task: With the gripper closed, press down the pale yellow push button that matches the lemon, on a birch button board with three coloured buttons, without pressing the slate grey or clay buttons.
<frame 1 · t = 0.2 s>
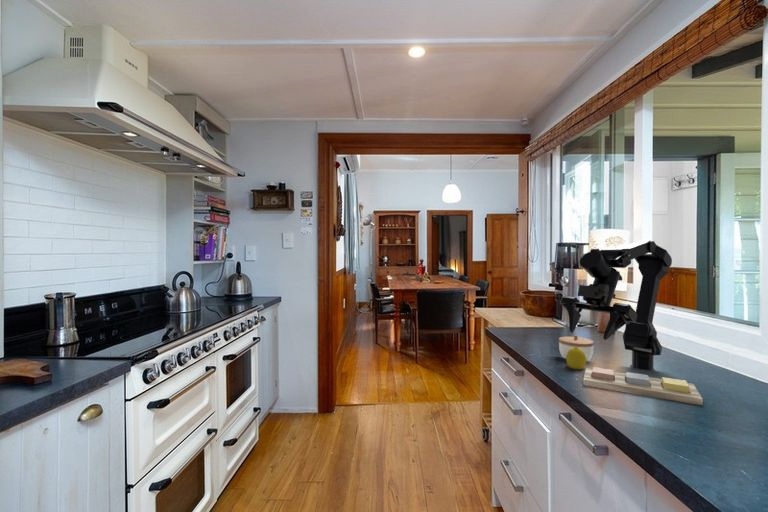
hand: (587, 335, 101), 15 cm above the worktop, tool tilted 30°, fingers open, 9 cm apart
button board: (637, 392, 99), on the worktop
lidded jar: (575, 362, 127), on the worktop
lemon: (576, 372, 116), on the worktop
yellow button: (675, 387, 95), point 3 cm above the worktop, slide at 0.0 cm
clay button: (603, 376, 103), point 3 cm above the worktop, slide at 0.0 cm
grey button: (637, 381, 99), point 3 cm above the worktop, slide at 0.0 cm
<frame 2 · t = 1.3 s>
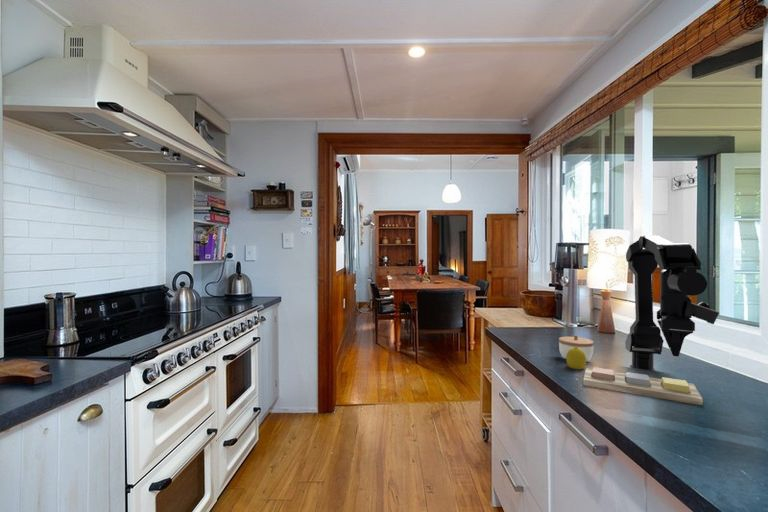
hand: (673, 352, 95), 12 cm above the worktop, tool pointing down, fingers open, 9 cm apart
nothing on the worktop moved.
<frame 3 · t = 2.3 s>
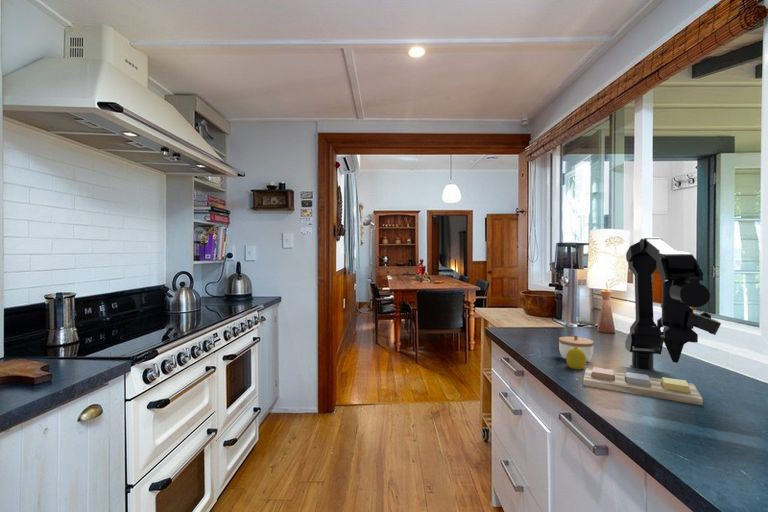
hand: (675, 362, 95), 10 cm above the worktop, tool pointing down, fingers closed
nothing on the worktop moved.
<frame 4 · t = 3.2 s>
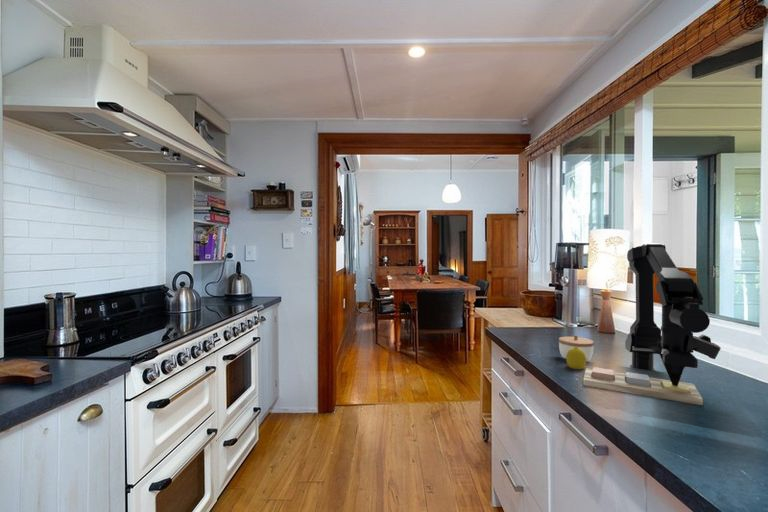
hand: (675, 385, 95), 4 cm above the worktop, tool pointing down, fingers closed, pressing on yellow button
yellow button: (675, 391, 95), point 2 cm above the worktop, slide at 0.9 cm, touching gripper
everything else where it was.
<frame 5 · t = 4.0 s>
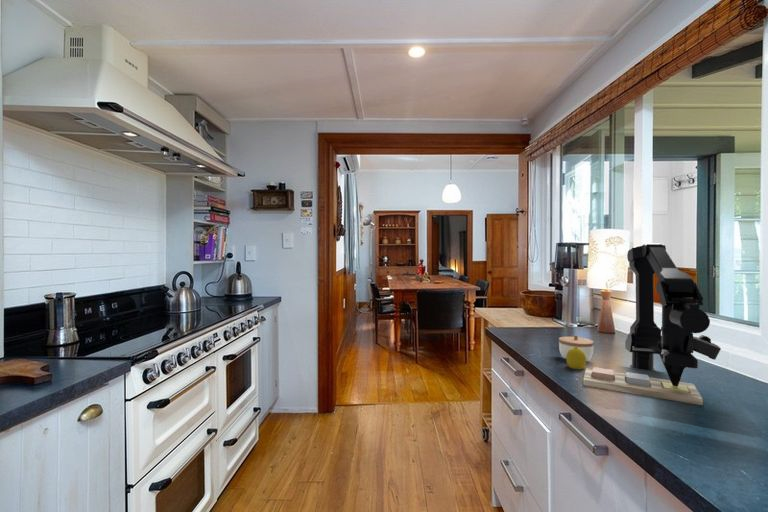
hand: (675, 385, 95), 3 cm above the worktop, tool pointing down, fingers closed
yellow button: (675, 392, 95), point 2 cm above the worktop, slide at 1.2 cm
everything else where it was.
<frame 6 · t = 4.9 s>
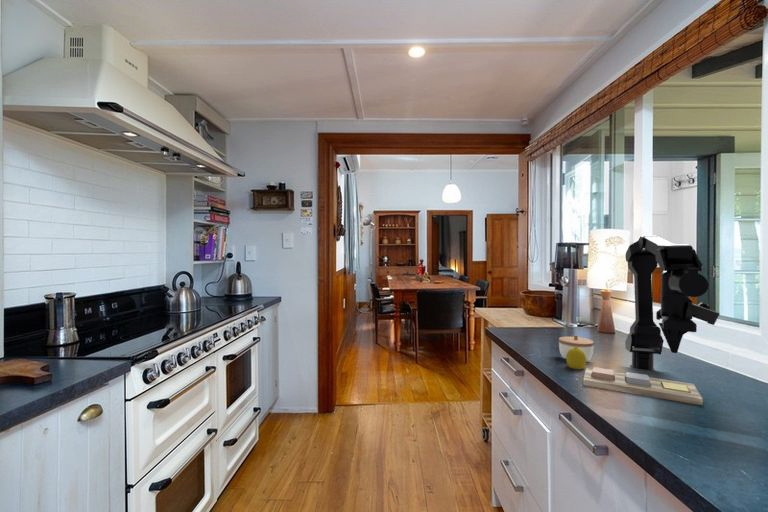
hand: (674, 352, 95), 12 cm above the worktop, tool pointing down, fingers closed
nothing on the worktop moved.
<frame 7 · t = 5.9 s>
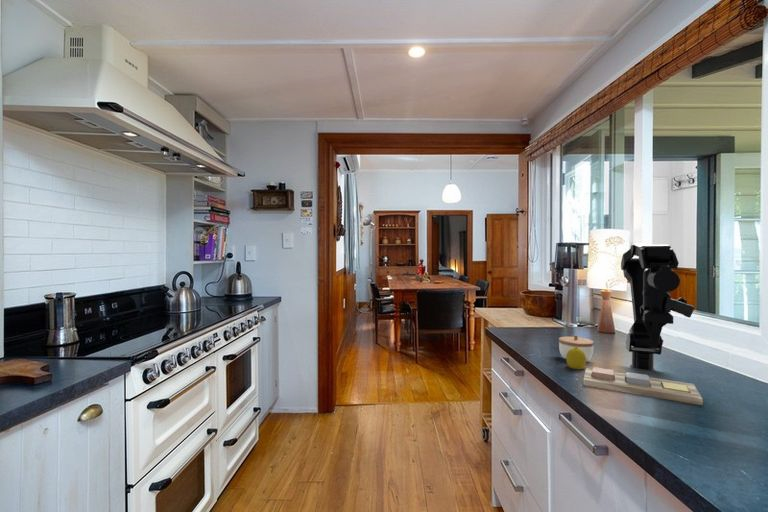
hand: (655, 343, 104), 12 cm above the worktop, tool pointing down, fingers closed
nothing on the worktop moved.
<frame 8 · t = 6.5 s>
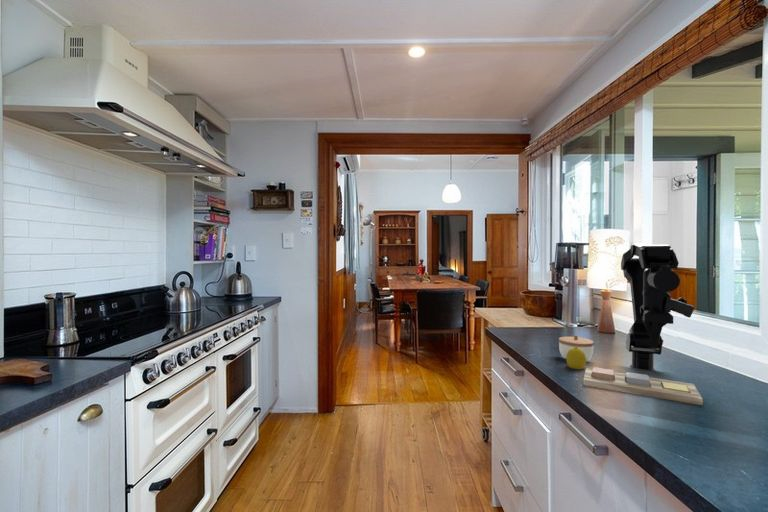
hand: (655, 343, 104), 12 cm above the worktop, tool pointing down, fingers closed
nothing on the worktop moved.
at the end: yellow button slide at 1.2 cm; grey button slide at 0.0 cm; clay button slide at 0.0 cm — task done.
